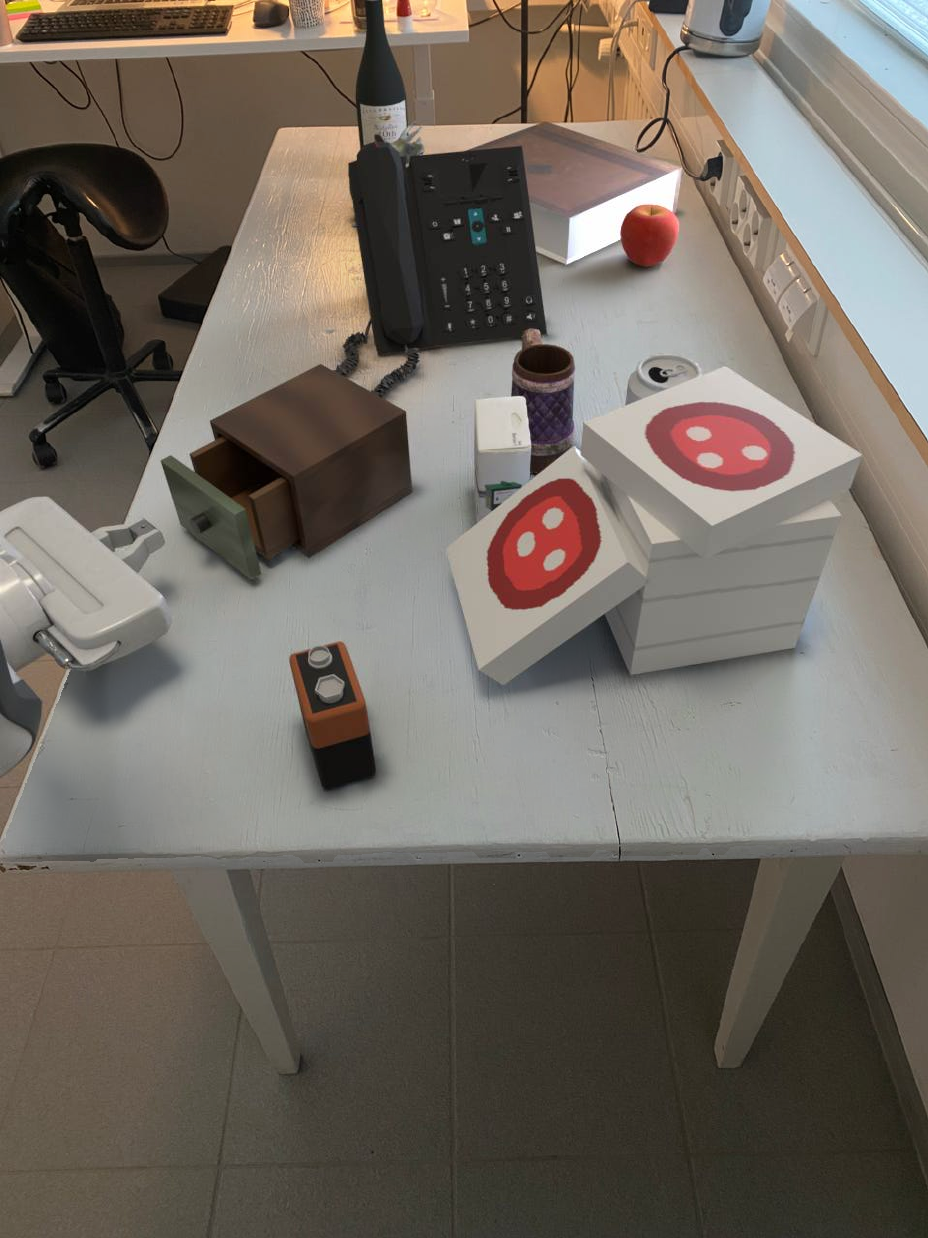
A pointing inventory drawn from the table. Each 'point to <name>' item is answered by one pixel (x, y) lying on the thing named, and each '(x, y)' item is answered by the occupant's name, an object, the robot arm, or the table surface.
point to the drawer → (233, 504)
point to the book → (585, 187)
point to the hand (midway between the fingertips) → (154, 529)
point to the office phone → (443, 251)
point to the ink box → (500, 451)
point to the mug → (545, 397)
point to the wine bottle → (379, 84)
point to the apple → (649, 234)
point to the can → (660, 375)
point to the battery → (333, 714)
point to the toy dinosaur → (403, 146)
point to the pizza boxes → (661, 534)
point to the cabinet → (326, 450)
